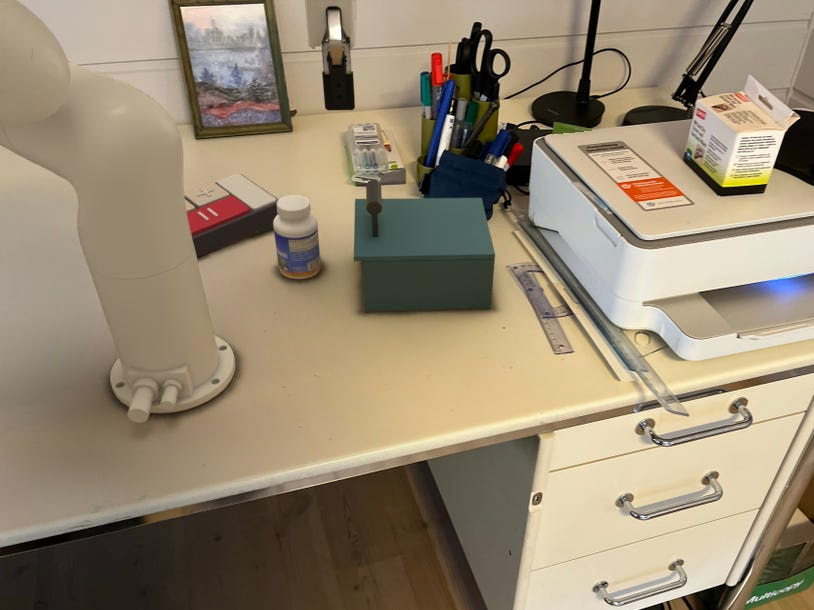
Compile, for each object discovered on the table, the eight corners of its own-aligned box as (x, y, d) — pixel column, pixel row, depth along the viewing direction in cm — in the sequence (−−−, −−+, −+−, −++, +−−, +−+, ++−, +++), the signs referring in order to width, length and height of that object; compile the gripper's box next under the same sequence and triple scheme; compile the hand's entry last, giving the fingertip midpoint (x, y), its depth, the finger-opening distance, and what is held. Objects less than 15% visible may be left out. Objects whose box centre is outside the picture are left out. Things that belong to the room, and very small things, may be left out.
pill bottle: (275, 261, 99) (265, 194, 92) (316, 254, 100) (309, 188, 94) (284, 284, 95) (274, 216, 89) (326, 276, 97) (319, 209, 90)
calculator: (140, 204, 101) (239, 167, 109) (149, 231, 104) (244, 194, 111) (180, 238, 95) (281, 196, 103) (188, 265, 98) (286, 223, 106)
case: (364, 312, 91) (361, 261, 87) (364, 252, 102) (361, 203, 97) (490, 309, 93) (494, 259, 89) (478, 250, 104) (481, 202, 99)
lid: (354, 261, 86) (351, 219, 83) (355, 203, 97) (352, 164, 93) (494, 259, 89) (498, 218, 85) (481, 202, 99) (483, 163, 95)
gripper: (290, -99, 80) (305, 65, 91) (285, -61, 67) (304, 124, 78) (361, -96, 81) (368, 65, 92) (370, -59, 68) (377, 123, 79)
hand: (338, 92), depth 85 cm, fingers open, 9 cm apart
